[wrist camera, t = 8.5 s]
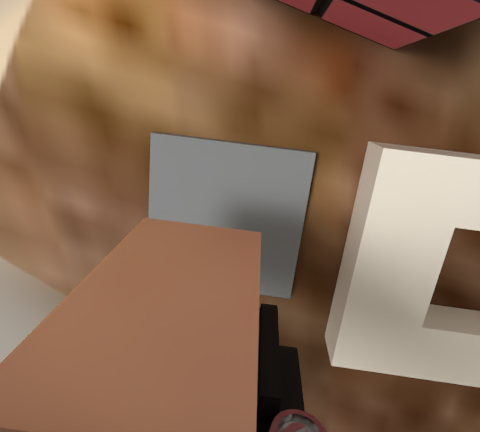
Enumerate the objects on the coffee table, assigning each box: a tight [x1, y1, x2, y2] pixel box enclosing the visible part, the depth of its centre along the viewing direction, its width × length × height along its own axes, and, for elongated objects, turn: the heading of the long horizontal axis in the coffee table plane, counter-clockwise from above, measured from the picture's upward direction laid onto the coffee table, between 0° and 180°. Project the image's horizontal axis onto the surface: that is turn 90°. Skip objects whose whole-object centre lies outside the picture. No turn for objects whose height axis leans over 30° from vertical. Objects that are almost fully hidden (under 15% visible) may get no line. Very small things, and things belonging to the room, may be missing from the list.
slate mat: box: [149, 132, 316, 299], centre depth 23 cm, size 10×10×1 cm
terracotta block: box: [0, 218, 261, 432], centre depth 11 cm, size 5×5×10 cm
